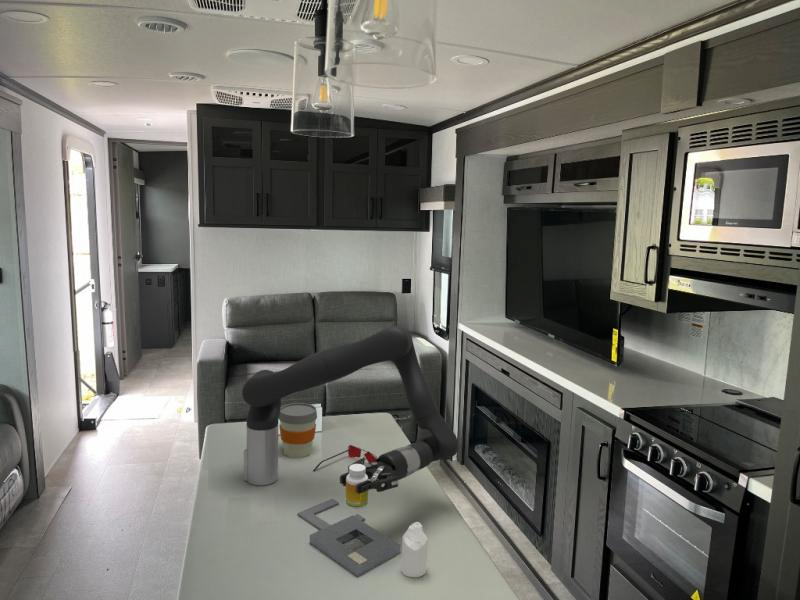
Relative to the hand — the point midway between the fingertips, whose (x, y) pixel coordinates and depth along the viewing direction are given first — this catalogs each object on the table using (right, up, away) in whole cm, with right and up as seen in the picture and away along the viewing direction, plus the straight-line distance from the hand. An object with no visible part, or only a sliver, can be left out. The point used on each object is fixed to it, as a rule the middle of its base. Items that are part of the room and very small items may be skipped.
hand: (349, 484), depth 144 cm
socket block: (+1, -17, +5) cm, 18 cm away
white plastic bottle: (+15, -19, -3) cm, 25 cm away
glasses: (-5, -10, +46) cm, 48 cm away
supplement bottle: (+2, -6, +3) cm, 7 cm away
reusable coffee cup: (-22, -7, +57) cm, 62 cm away
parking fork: (-6, -14, +19) cm, 24 cm away
